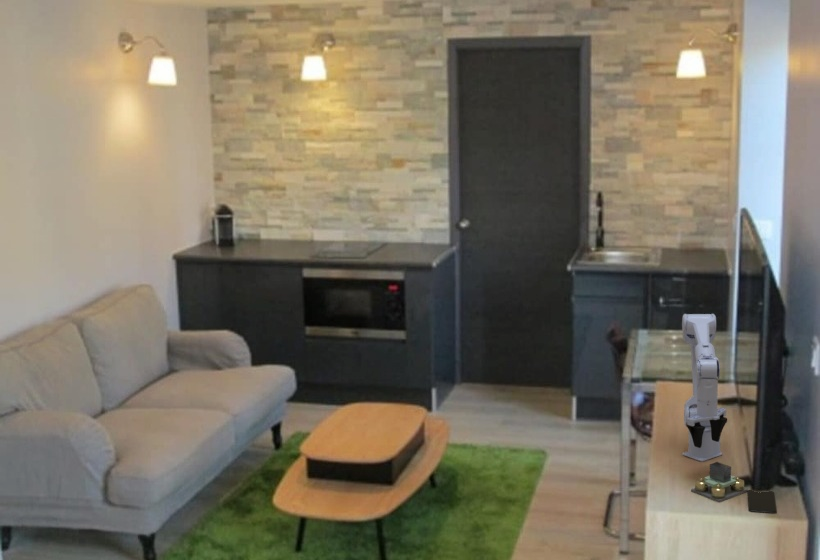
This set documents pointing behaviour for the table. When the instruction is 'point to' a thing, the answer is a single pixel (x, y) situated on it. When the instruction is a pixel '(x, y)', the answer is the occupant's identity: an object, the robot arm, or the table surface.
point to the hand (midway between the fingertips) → (706, 443)
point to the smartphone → (761, 502)
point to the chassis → (719, 490)
